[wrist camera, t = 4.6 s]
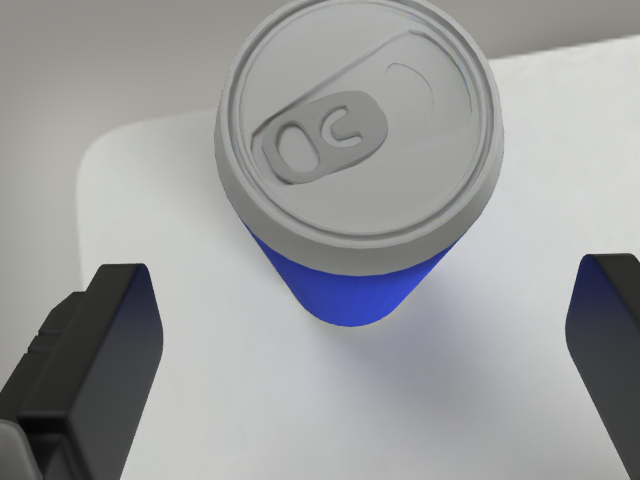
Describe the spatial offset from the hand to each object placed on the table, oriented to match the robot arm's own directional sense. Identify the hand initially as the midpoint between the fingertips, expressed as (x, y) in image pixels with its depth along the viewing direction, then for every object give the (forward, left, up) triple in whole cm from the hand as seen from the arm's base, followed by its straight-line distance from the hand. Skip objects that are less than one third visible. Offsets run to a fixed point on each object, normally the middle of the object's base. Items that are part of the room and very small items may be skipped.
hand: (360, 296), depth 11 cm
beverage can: (0, +3, -13) cm, 13 cm away
